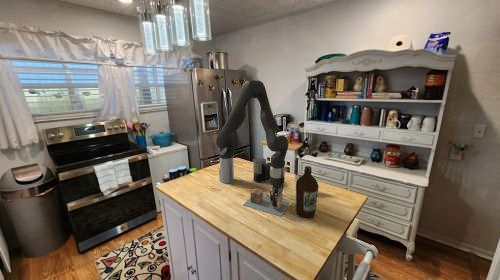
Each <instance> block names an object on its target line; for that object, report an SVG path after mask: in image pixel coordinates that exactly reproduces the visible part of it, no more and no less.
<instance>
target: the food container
mask: <svg viewBox="0 0 500 280" xmlns="http://www.w3.org/2000/svg"><path fill="white" fill-rule="evenodd" d="M302 175H303V174H301V175H300V174H297V173H295V174H294V179H295V183H296V182H297V180H298V179H299V178H300V177H301V176H302ZM313 177H314V178H315V176H313ZM315 179H316V178H315Z"/></svg>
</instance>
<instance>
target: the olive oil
mask: <svg viewBox="0 0 500 280" xmlns="http://www.w3.org/2000/svg"><path fill="white" fill-rule="evenodd" d="M301 175H302V176H301V177H300V178H299V179H298V180H297V182H296V181H295V214H296V216H298V218H299V217H300V218H301V219H303V220H309V219H311V220H312V219H313V218H315V215H316V210H317V201H318V194H319V184H318V181H317V179H316V178H314V177H315V176H313V175H312V166H308V165H305V166H304V173H303V174H301Z"/></svg>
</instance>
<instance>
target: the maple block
mask: <svg viewBox="0 0 500 280" xmlns="http://www.w3.org/2000/svg"><path fill="white" fill-rule="evenodd" d="M276 195H277V194H276ZM275 197H276V196H275ZM283 198H284V194H283V192H282V193H279V196H278V197H277V206H276V207H277V208H280V206H281V205H282V204H283V201H284V199H283ZM270 206H272V201H271V200H270Z"/></svg>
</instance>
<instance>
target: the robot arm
mask: <svg viewBox="0 0 500 280" xmlns="http://www.w3.org/2000/svg"><path fill="white" fill-rule="evenodd" d="M239 91H240V92H239V94H238V97H237V99H236V101H235V104H234V105H233V107H232V110H230V113H229V115H228V117H227V120H226V121H225V123H224V125H223V126H222V128H221V130H220V132H219V133H218V134H217V136H216V138H215V144H216V147H217V148H219V149H223V150H221V151H220V153H219V167H218V175H219V176H218V177H219V181H220V182H221V183H222V184H230V183H233V182H234V181H235V166H234V165H235V164H234V163H235V162H234V154H235V137H234V132H236V131H237V130H239V129H240V128H241V127H242V125H243V124H244V122H245V120H246V118H247V108H246V107H247V105H248V103H249V101H250V100H251V99H257V101H258V103H259V105H260V110H259V111H260V114H259V118H260V122H261V125H262V127H263V130H264V131H265V133H264V134H265V138H266V145H267V148H268V149H269V151H271V152H273V154H272V155H271V157H270V180H269V184H270V185H272V187H271V190H270V191H269V197H270V200H271V201H272V206H273V207H276V206H277V197H278V196H279V193H283V191H284V184H285V175H286V168H285V164H286V163H285V161H286V160H285V159H286V157H287V156H286V155H287V153H288V148H289V140H288V138H287V137H286V135H278V136H276V133H277V132H278V131H279V128H280V127H279V125H278V123H277V121H276V118H275V116H274V113H273V111H272V108H271V105H270V100H269V97H268V93H267V89H266V87H265V84H264V83H263V82H262V81H261V80H255V79H254V80H253V79H248V80H246V81H244V83H243V84H242V87H241V88H240V90H239ZM274 152H275V153H274ZM276 194H277V195H276ZM275 196H276V197H275Z"/></svg>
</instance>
